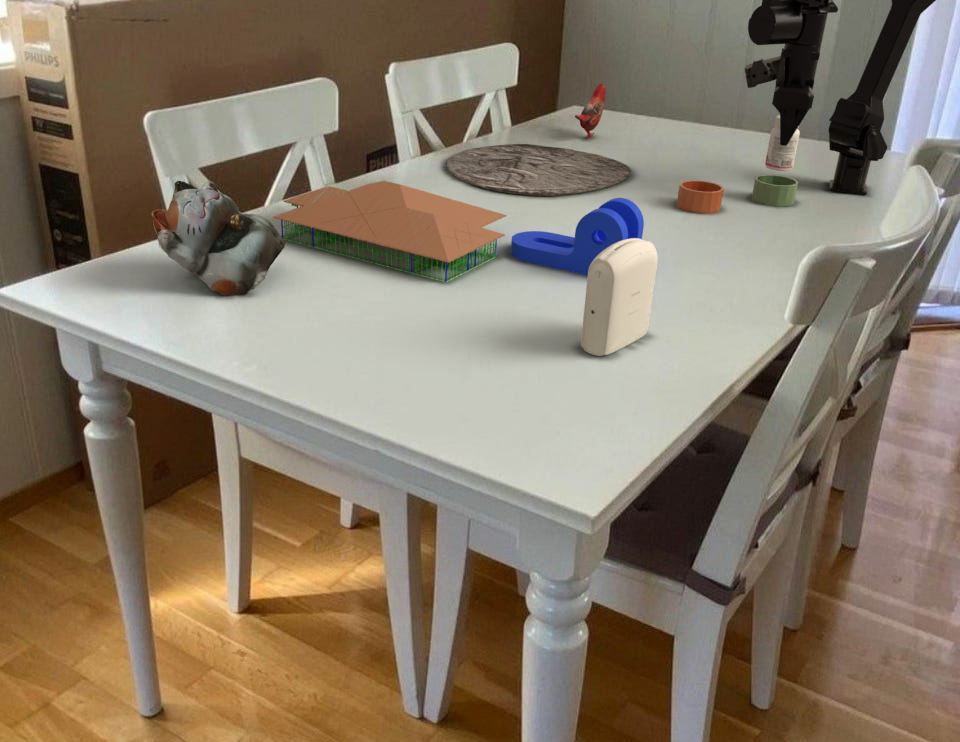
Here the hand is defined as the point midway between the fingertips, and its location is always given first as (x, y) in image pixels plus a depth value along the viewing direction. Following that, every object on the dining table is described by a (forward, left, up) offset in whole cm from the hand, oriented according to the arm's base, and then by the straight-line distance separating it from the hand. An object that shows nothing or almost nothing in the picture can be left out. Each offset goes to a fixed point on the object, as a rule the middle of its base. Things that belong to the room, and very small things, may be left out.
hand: (783, 142), depth 174 cm
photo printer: (+73, -16, -10) cm, 75 cm away
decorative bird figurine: (-30, -39, -10) cm, 50 cm away
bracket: (+46, -27, -10) cm, 54 cm away
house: (+47, -53, -10) cm, 71 cm away
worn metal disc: (-1, -43, -10) cm, 44 cm away
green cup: (0, 0, -10) cm, 10 cm away
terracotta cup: (+10, -12, -10) cm, 18 cm away
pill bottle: (0, 0, -4) cm, 4 cm away
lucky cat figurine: (+72, -68, -10) cm, 99 cm away
